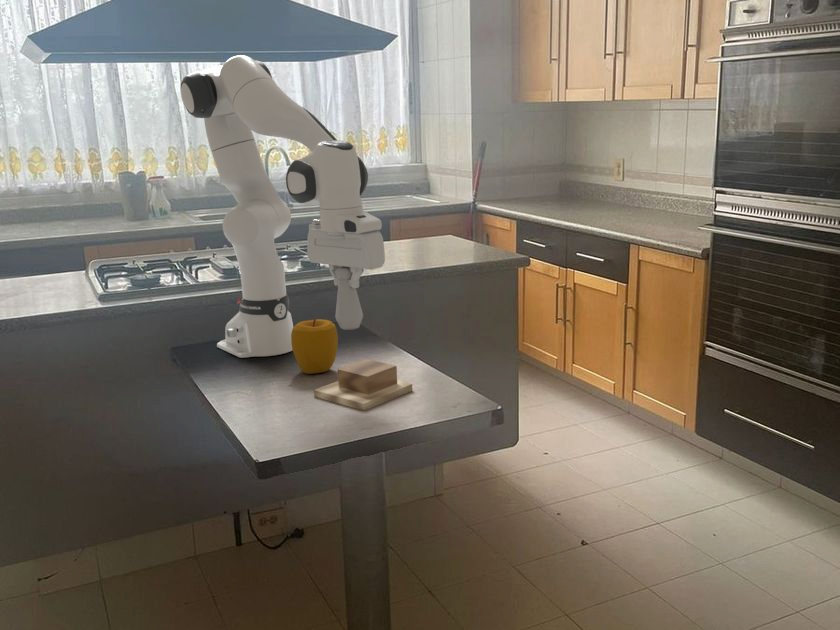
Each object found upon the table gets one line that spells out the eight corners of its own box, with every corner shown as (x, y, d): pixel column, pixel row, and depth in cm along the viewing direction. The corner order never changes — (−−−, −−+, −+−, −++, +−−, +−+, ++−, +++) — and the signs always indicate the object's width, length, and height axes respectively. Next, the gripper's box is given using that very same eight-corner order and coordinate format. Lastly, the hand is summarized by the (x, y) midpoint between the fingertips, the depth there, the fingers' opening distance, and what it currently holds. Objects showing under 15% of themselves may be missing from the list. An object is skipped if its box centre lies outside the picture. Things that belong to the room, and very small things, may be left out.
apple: (315, 382, 184) (311, 327, 181) (283, 374, 190) (279, 321, 187) (349, 370, 192) (346, 317, 189) (318, 362, 199) (314, 311, 195)
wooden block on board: (314, 396, 174) (312, 372, 173) (363, 378, 185) (361, 355, 184) (363, 410, 165) (362, 385, 163) (412, 390, 176) (411, 366, 174)
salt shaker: (360, 330, 168) (355, 269, 165) (333, 331, 169) (328, 270, 166) (366, 323, 174) (361, 263, 171) (340, 323, 175) (335, 264, 172)
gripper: (297, 220, 171) (303, 284, 174) (365, 225, 157) (369, 294, 161) (320, 216, 175) (325, 279, 179) (387, 221, 162) (391, 288, 165)
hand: (346, 286), depth 170 cm, fingers closed on salt shaker, 3 cm apart
